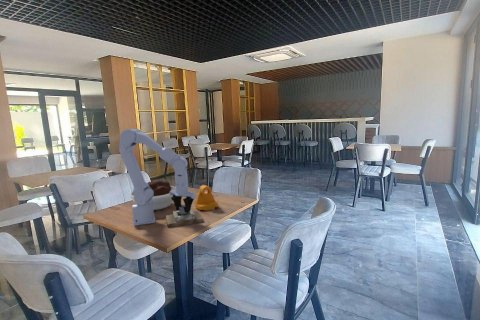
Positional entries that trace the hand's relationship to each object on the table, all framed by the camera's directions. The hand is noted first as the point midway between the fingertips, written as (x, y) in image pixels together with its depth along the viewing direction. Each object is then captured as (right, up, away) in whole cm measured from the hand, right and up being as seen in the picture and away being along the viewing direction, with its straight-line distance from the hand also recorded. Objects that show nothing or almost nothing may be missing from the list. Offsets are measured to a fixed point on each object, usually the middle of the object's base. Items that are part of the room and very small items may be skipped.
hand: (183, 211), depth 123 cm
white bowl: (-20, -2, +21) cm, 29 cm away
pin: (0, -4, +1) cm, 4 cm away
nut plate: (0, -4, +1) cm, 4 cm away
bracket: (+9, -2, +17) cm, 20 cm away
